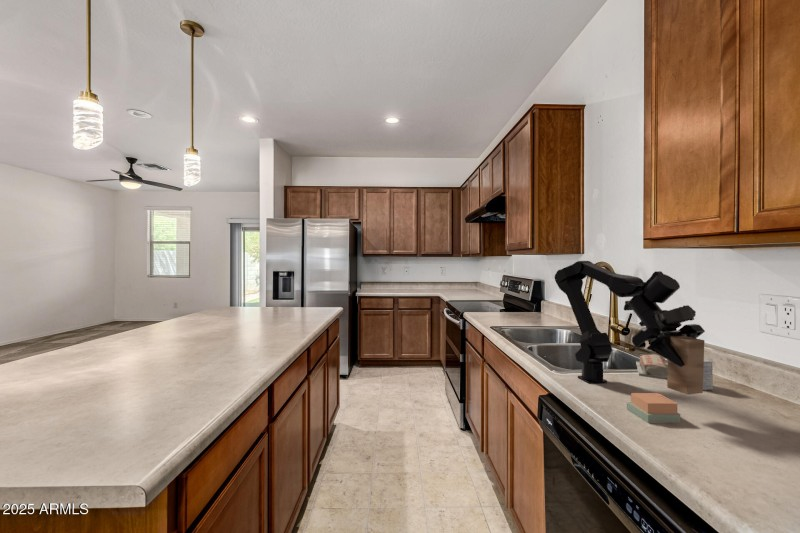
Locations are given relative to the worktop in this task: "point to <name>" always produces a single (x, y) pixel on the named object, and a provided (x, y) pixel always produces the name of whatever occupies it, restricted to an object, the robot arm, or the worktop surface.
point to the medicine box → (707, 375)
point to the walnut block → (687, 365)
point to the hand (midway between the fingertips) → (690, 364)
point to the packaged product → (652, 366)
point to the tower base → (652, 415)
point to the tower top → (654, 403)
